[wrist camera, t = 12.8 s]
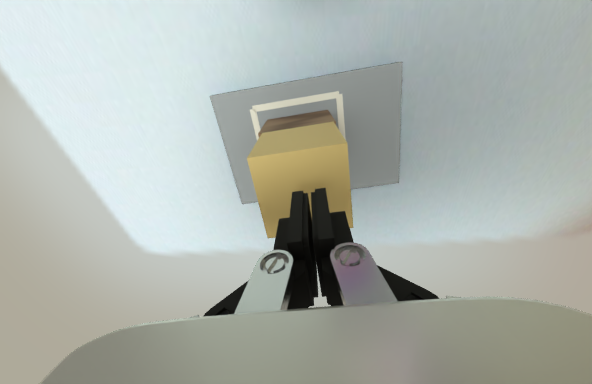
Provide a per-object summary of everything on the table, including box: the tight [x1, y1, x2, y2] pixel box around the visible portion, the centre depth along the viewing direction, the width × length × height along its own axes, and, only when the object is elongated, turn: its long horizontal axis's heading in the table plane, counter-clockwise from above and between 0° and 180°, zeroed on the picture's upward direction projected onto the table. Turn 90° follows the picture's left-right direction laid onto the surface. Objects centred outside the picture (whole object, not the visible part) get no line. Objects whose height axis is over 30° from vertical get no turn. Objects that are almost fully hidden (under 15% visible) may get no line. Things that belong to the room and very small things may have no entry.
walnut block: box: [258, 110, 336, 137], centre depth 22 cm, size 6×6×6 cm
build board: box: [210, 62, 402, 204], centre depth 25 cm, size 18×12×1 cm, turn 99°
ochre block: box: [247, 122, 353, 238], centre depth 17 cm, size 6×6×6 cm
